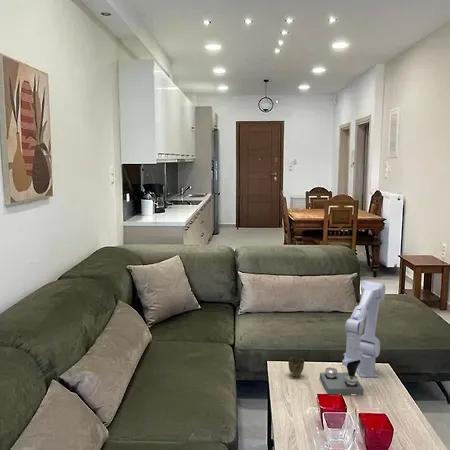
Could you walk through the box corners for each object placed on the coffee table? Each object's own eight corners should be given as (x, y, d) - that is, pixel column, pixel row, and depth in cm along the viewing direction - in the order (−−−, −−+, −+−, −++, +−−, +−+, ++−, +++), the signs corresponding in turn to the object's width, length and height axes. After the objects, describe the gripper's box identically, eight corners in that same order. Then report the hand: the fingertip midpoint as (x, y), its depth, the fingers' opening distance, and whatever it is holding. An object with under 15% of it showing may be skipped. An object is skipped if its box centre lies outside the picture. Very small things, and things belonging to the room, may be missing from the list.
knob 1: (323, 375, 213) (324, 367, 213) (335, 375, 213) (335, 367, 213) (326, 380, 208) (327, 372, 208) (338, 380, 208) (338, 372, 208)
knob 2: (343, 382, 207) (343, 374, 206) (355, 382, 207) (355, 374, 206) (346, 388, 202) (347, 380, 201) (358, 388, 202) (359, 380, 201)
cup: (306, 375, 219) (307, 358, 217) (300, 381, 212) (300, 364, 211) (291, 371, 223) (292, 355, 221) (285, 377, 216) (285, 360, 215)
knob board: (319, 378, 215) (320, 372, 215) (352, 378, 216) (352, 372, 215) (328, 395, 200) (328, 388, 200) (362, 395, 201) (363, 388, 200)
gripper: (352, 339, 210) (351, 367, 211) (336, 348, 199) (334, 378, 201) (367, 343, 205) (365, 372, 207) (351, 353, 194) (349, 384, 196)
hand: (351, 376), depth 204 cm, fingers closed
